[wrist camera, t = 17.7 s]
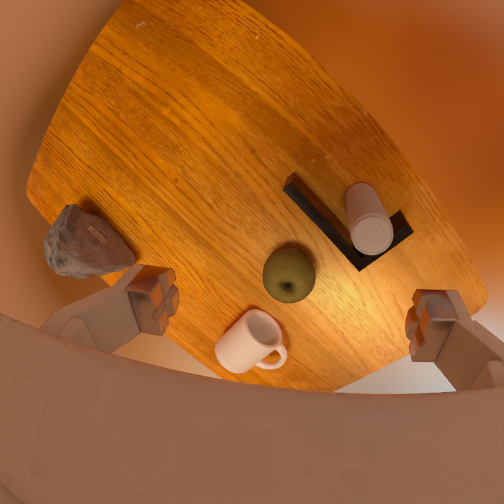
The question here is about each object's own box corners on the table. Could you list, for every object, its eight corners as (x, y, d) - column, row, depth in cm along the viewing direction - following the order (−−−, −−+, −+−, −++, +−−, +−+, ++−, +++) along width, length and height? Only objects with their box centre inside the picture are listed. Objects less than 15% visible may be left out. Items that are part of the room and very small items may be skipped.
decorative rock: (74, 207, 52) (20, 243, 39) (88, 185, 49) (30, 220, 36) (127, 269, 56) (84, 318, 44) (146, 252, 53) (100, 303, 40)
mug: (221, 329, 59) (208, 359, 52) (249, 300, 54) (239, 331, 47) (270, 360, 60) (263, 390, 54) (302, 335, 55) (298, 368, 49)
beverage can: (383, 192, 40) (403, 229, 30) (365, 219, 42) (378, 263, 32) (354, 175, 40) (366, 206, 29) (337, 203, 42) (342, 243, 32)
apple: (279, 287, 51) (272, 315, 45) (258, 246, 48) (249, 271, 42) (322, 274, 48) (322, 302, 42) (304, 231, 45) (301, 255, 39)
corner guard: (337, 134, 37) (340, 139, 33) (405, 217, 41) (414, 232, 37) (286, 178, 42) (282, 189, 38) (356, 254, 45) (359, 272, 41)
